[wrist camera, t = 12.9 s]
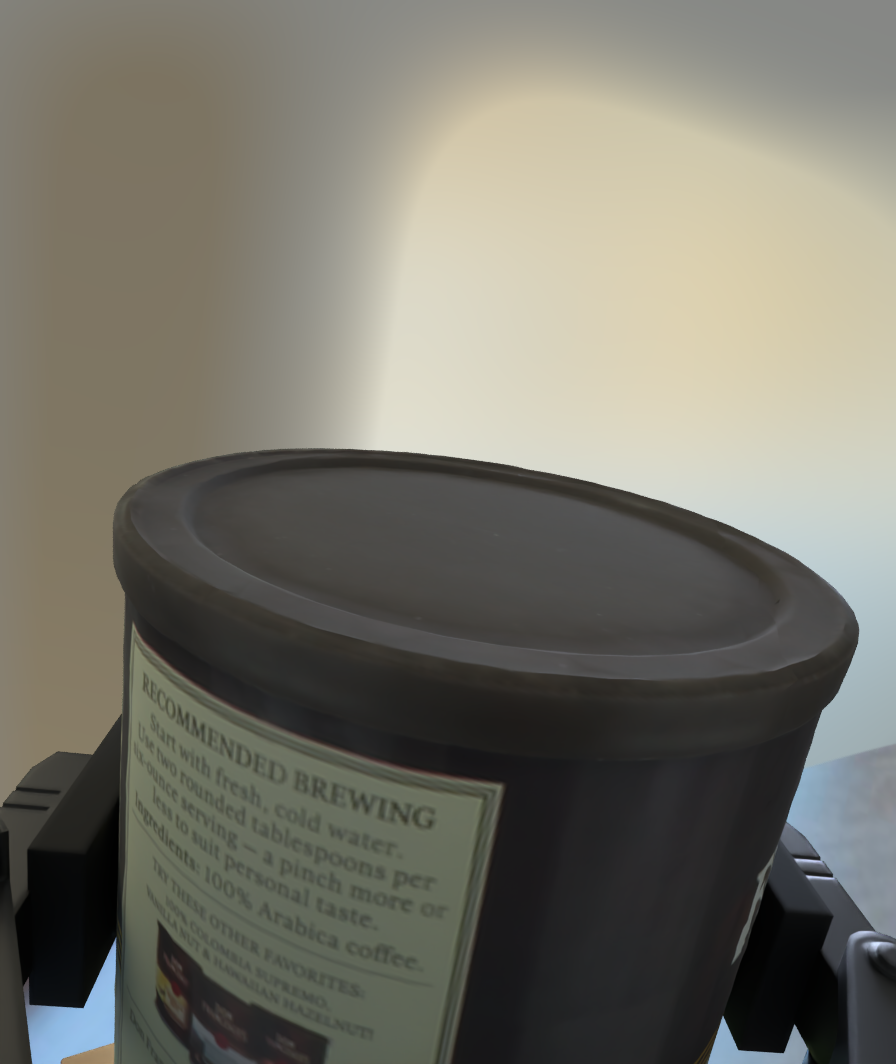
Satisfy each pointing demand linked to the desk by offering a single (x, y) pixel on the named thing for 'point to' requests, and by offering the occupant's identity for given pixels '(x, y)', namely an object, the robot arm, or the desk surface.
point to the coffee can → (447, 761)
